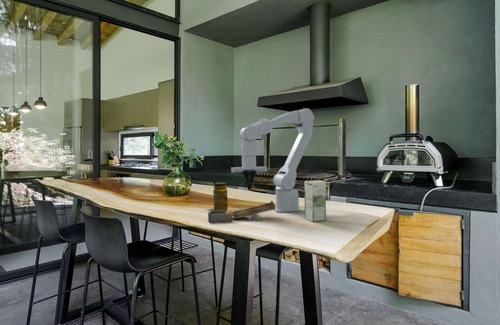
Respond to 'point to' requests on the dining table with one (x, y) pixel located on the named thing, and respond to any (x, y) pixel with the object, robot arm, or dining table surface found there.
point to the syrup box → (315, 200)
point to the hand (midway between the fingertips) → (249, 189)
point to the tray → (219, 216)
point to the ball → (230, 212)
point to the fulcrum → (254, 217)
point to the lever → (253, 210)
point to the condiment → (220, 197)
